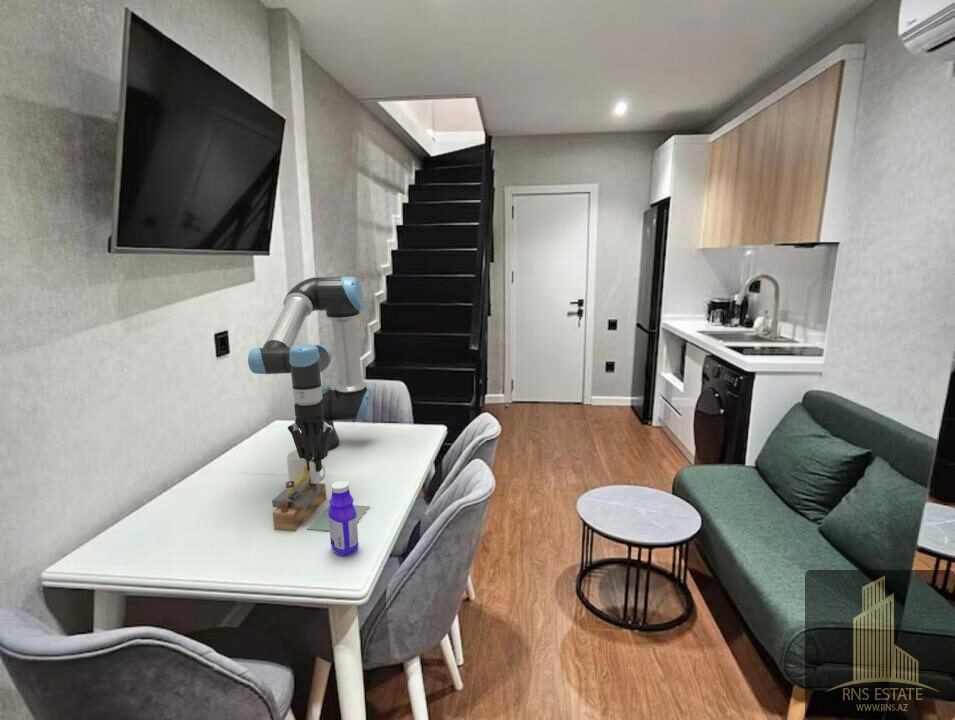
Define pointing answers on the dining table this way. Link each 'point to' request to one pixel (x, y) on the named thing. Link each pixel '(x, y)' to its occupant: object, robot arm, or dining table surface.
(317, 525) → the mat
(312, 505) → the plane body
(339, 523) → the bottle
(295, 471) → the mug
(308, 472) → the lever
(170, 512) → the dining table surface
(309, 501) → the grey knob plate
